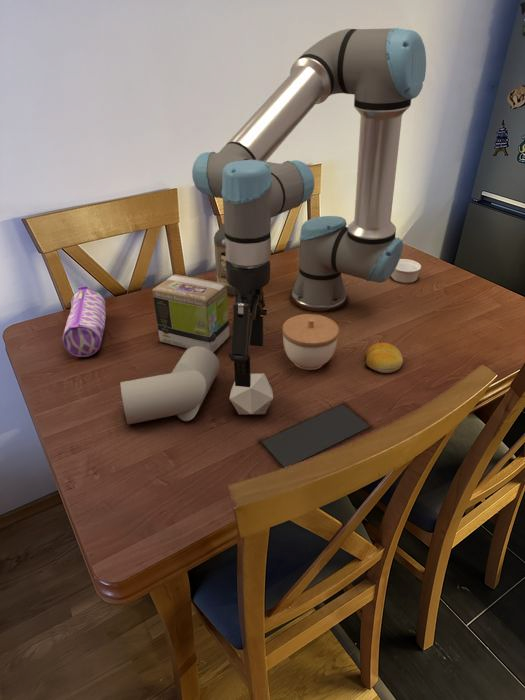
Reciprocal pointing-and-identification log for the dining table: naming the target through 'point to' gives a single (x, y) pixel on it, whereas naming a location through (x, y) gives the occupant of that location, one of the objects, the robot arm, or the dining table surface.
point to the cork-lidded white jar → (310, 340)
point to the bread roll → (384, 358)
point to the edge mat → (314, 435)
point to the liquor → (222, 260)
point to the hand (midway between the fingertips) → (249, 364)
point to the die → (252, 396)
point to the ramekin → (406, 271)
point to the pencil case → (85, 323)
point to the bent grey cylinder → (172, 389)
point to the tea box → (192, 312)
